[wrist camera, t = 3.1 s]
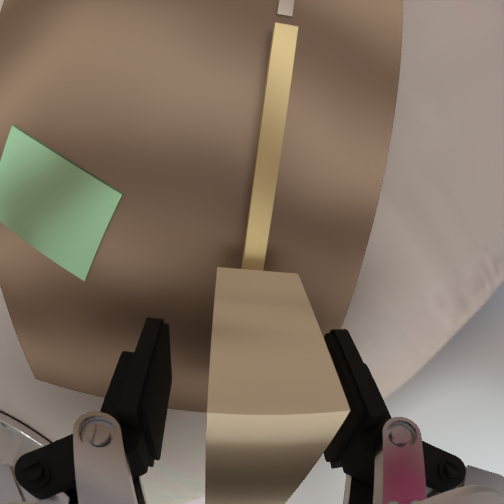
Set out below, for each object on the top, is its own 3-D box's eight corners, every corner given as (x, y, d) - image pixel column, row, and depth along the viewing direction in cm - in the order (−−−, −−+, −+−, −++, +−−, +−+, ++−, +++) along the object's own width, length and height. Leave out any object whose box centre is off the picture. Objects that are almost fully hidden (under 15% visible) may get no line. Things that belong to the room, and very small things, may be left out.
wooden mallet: (259, 380, 14) (275, 514, 7) (210, 377, 13) (205, 514, 7) (318, 38, 8) (448, -56, 1) (245, 25, 7) (271, -118, 1)
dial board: (301, 395, 17) (306, 416, 15) (44, 363, 15) (34, 380, 14) (386, -34, 7) (403, -47, 6) (36, -37, 6) (20, -46, 4)
